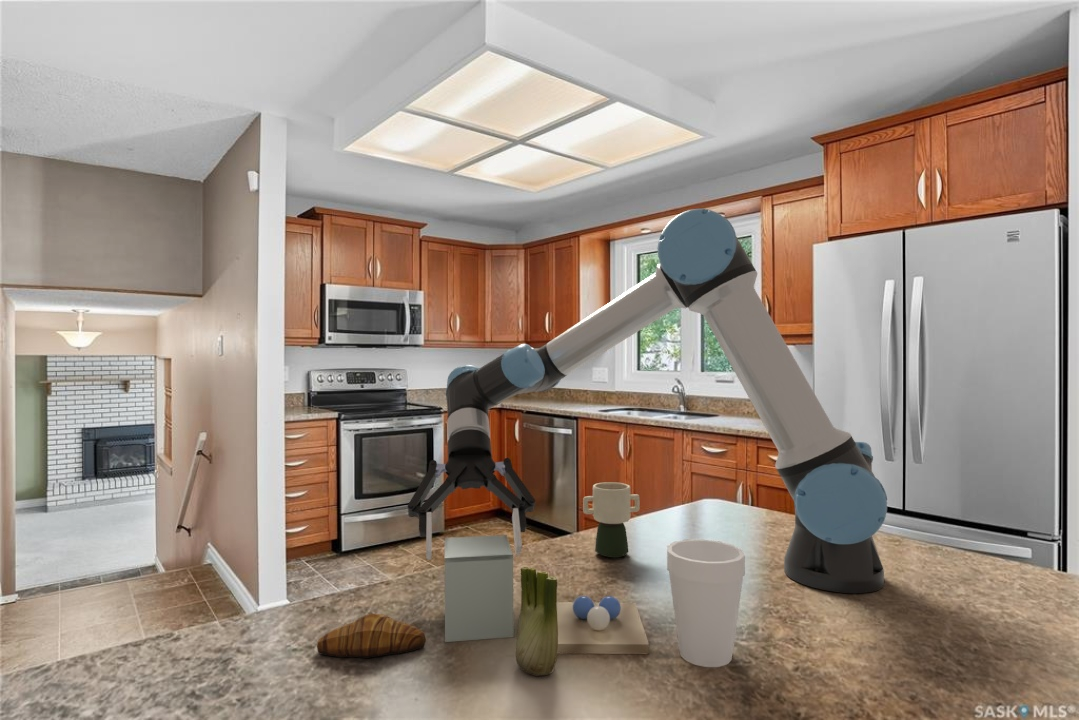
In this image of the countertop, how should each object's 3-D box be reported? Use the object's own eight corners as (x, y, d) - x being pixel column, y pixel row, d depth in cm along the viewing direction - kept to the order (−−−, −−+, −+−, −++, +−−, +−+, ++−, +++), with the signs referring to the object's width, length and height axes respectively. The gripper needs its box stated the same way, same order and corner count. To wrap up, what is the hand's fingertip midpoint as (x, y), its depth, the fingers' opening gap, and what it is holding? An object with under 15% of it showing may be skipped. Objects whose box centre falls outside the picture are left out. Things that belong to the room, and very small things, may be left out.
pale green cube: (506, 609, 90) (506, 534, 90) (513, 636, 81) (513, 554, 81) (445, 613, 89) (444, 537, 89) (445, 642, 80) (444, 558, 80)
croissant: (309, 669, 73) (309, 628, 73) (323, 643, 80) (322, 605, 80) (424, 662, 75) (423, 622, 75) (427, 637, 82) (427, 600, 82)
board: (635, 610, 89) (635, 602, 89) (649, 654, 76) (649, 644, 76) (525, 610, 90) (525, 602, 90) (521, 653, 77) (521, 643, 77)
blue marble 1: (593, 613, 86) (593, 592, 85) (595, 623, 83) (595, 601, 82) (572, 613, 86) (572, 592, 86) (573, 623, 83) (572, 600, 83)
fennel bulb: (563, 679, 71) (563, 575, 71) (522, 686, 69) (522, 580, 69) (548, 655, 76) (548, 559, 76) (510, 661, 75) (510, 563, 75)
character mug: (633, 547, 119) (633, 481, 119) (645, 559, 112) (645, 488, 112) (579, 550, 117) (578, 483, 117) (587, 563, 110) (587, 491, 110)
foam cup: (749, 677, 71) (749, 565, 71) (667, 670, 73) (667, 560, 72) (739, 640, 80) (739, 541, 80) (667, 634, 82) (666, 537, 82)
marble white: (608, 624, 82) (608, 602, 82) (611, 634, 79) (610, 611, 79) (586, 624, 82) (586, 602, 82) (587, 634, 79) (587, 611, 79)
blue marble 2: (619, 613, 85) (619, 592, 85) (621, 623, 82) (621, 601, 82) (598, 613, 86) (597, 592, 85) (599, 623, 82) (599, 601, 82)
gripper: (536, 451, 112) (552, 559, 97) (397, 455, 108) (391, 569, 93) (541, 425, 107) (558, 535, 92) (395, 428, 103) (388, 545, 88)
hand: (474, 552), depth 93 cm, fingers open, 13 cm apart
